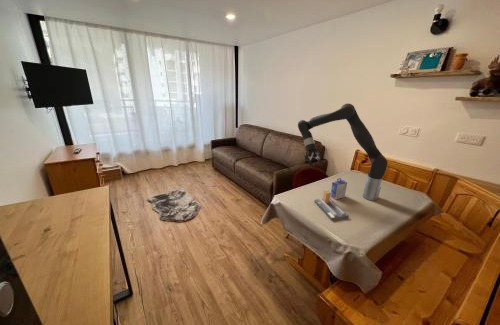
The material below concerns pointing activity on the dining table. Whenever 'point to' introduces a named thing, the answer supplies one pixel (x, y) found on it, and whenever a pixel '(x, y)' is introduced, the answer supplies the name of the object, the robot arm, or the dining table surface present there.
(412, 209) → the dining table surface
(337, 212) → the switch panel
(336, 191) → the ink cartridge box
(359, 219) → the dining table surface
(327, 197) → the switch tab
